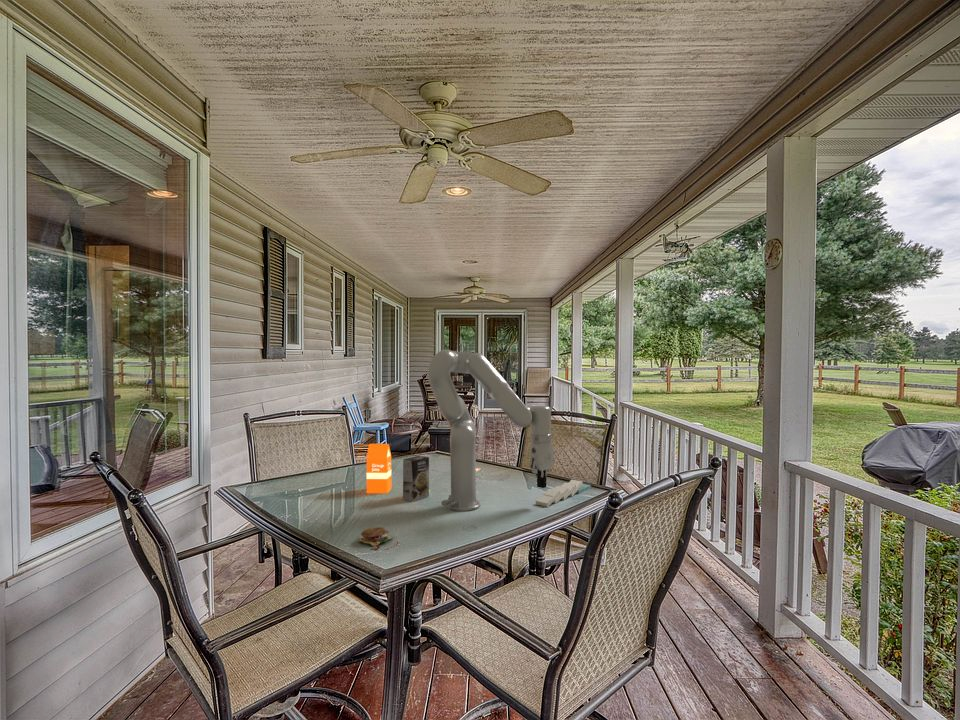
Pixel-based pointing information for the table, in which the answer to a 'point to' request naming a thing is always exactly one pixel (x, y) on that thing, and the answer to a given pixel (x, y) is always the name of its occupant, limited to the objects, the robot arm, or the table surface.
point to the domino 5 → (583, 488)
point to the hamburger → (375, 536)
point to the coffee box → (415, 478)
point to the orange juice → (378, 468)
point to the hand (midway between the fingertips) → (541, 486)
